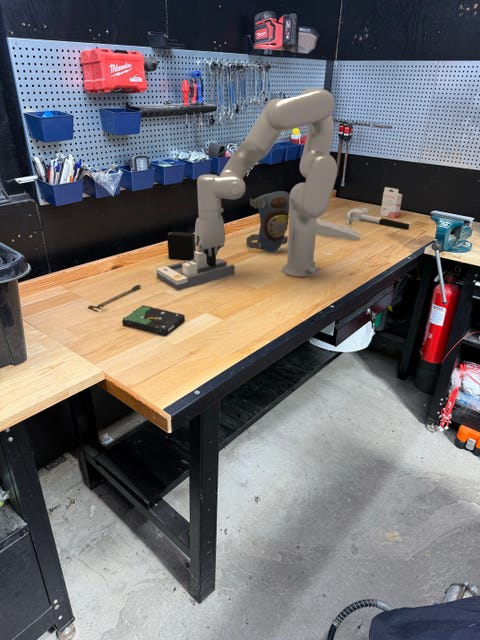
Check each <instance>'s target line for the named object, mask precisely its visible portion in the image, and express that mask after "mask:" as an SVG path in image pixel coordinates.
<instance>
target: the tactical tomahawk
mask: <svg viewBox="0 0 480 640" xmlns="http://www.w3.org/2000/svg"><path fill="white" fill-rule="evenodd" d="M141 287H142V285H141V284H137V285H134V286H132V288H131V289H130V290H126V291H124V292H122V293H120V294H118V295H116V296H113V297H111V298H110V299H107V300H106V301H103V302H101V303H99V304H97V306H95V305H88V306H87V309H89V310H91V311H93V312H96V313H99V310H103V308H104V306H106V305H108V304H110V303H111V304H112V302H115V301H117V300H119V299H122V298H124V297H125V296H128V295H129V294H133V293H134V292H136V290H138V289H140V288H141Z"/></svg>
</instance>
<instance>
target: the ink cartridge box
mask: <svg viewBox="0 0 480 640" xmlns="http://www.w3.org/2000/svg"><path fill="white" fill-rule="evenodd" d="M383 189H384V190H383V193H382V200H381V208H380V216H383V217H387V218H392V219H395V218H399V216H400V210H401V205H402V198H403V194H401V193H399V188H393V187H388V186H387V187H386V186H385V187H384V188H383Z"/></svg>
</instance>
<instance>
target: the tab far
mask: <svg viewBox="0 0 480 640" xmlns="http://www.w3.org/2000/svg"><path fill="white" fill-rule="evenodd" d="M193 260H194V261H195V263H196V264H199V263H203V262H207V260H206V254H205V253H201V252H198V251H197V250H196V251H195V252H194V259H193Z"/></svg>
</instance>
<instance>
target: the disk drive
mask: <svg viewBox="0 0 480 640" xmlns="http://www.w3.org/2000/svg"><path fill="white" fill-rule="evenodd" d="M185 322H186V318H185V314H182V313H178V312H174V311H169V310H166V309H162V308H157V307H153V306H149V305H148V306H147V305H143V304H142V305H141V306H140V307H138V308H136V309H135V310H133V311H132V312H131V313H130V314H128V315H126V316H125V317H123V318H122V320H121V323H122V326H124V327H126V328H131V329H135V330H138V331H142V332H146V333H151V334H154V335H158V336H161V337H168V335H170V334H171V333H172V332H174V331H175V330H176V329H178V327H180V326H181V325H182V324H184V323H185Z"/></svg>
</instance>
